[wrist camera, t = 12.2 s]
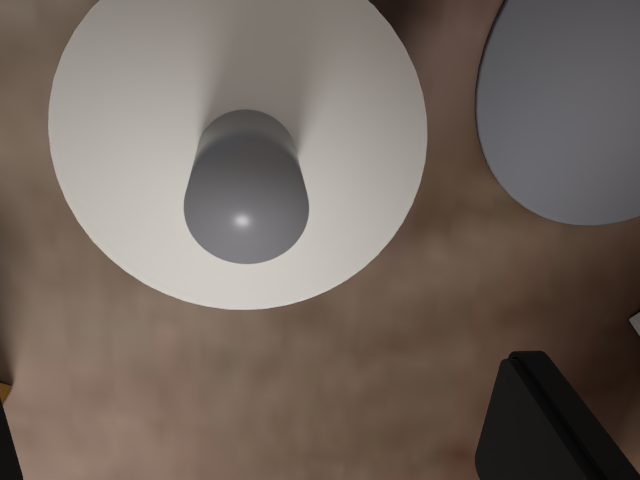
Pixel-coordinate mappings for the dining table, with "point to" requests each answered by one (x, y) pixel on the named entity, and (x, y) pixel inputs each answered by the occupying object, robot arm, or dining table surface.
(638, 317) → the supplement box
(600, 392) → the dining table surface
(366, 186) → the lid
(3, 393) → the small box
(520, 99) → the mat
